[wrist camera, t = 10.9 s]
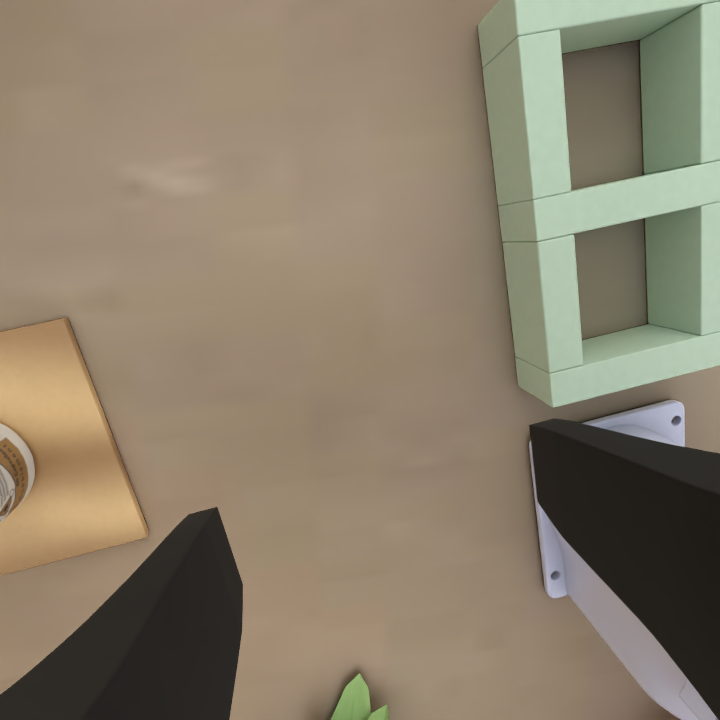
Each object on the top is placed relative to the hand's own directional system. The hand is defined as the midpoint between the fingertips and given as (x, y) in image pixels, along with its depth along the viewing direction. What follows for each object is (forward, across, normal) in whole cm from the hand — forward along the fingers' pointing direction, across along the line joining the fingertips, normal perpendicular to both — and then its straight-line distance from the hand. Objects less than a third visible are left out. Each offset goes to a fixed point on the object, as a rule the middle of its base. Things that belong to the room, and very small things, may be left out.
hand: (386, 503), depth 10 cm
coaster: (+10, +15, 0) cm, 18 cm away
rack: (+10, -12, -5) cm, 17 cm away
